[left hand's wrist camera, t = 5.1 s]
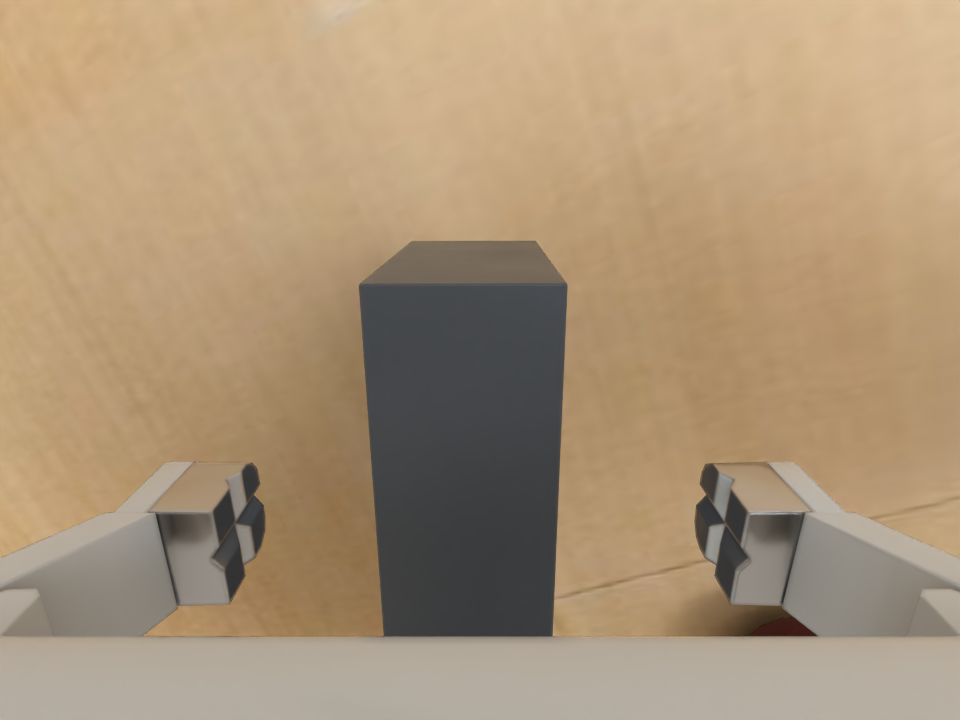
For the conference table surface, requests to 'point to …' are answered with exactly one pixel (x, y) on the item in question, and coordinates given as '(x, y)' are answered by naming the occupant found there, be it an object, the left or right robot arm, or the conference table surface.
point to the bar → (465, 435)
